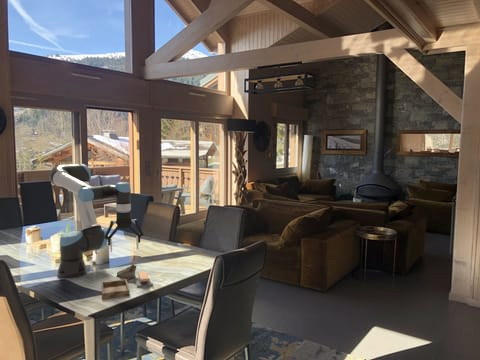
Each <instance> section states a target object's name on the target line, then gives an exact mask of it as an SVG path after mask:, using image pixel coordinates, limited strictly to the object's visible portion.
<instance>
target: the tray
mask: <svg viewBox="0 0 480 360" xmlns="http://www.w3.org/2000/svg"><path fill="white" fill-rule="evenodd" d="M100 284H101V285H100V286H101V299H102V300H108V299H115V297H116V298H121V297H120V296H123V297H128V295H130V288H129V284H128V280H127V279H117V280H109V281H101V282H100Z"/></svg>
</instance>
